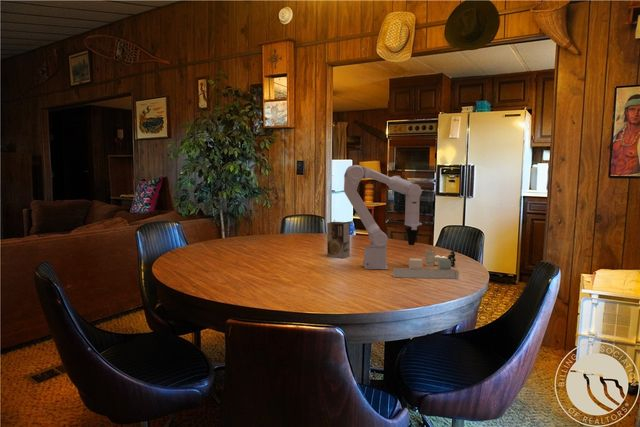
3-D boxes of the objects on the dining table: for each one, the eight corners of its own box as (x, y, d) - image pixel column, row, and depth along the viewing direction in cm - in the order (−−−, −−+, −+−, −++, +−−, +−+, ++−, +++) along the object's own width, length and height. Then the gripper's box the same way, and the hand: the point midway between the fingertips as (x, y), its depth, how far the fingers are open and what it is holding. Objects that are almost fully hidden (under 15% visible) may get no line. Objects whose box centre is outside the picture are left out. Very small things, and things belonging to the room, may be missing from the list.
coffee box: (350, 256, 201) (350, 222, 199) (343, 258, 195) (343, 223, 194) (333, 254, 206) (333, 221, 204) (326, 256, 200) (326, 222, 199)
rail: (393, 277, 160) (393, 262, 160) (391, 272, 169) (391, 257, 168) (458, 279, 158) (459, 263, 158) (453, 273, 167) (453, 258, 166)
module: (411, 277, 161) (411, 260, 161) (408, 272, 168) (409, 257, 168) (423, 277, 161) (423, 261, 161) (420, 273, 168) (420, 257, 167)
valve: (426, 267, 178) (455, 268, 177) (426, 251, 178) (455, 252, 177) (423, 263, 185) (451, 264, 184) (424, 248, 184) (452, 249, 183)
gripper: (424, 214, 168) (424, 248, 170) (419, 210, 183) (418, 242, 184) (406, 214, 169) (406, 247, 170) (402, 210, 183) (402, 241, 185)
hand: (411, 244), depth 177 cm, fingers closed
